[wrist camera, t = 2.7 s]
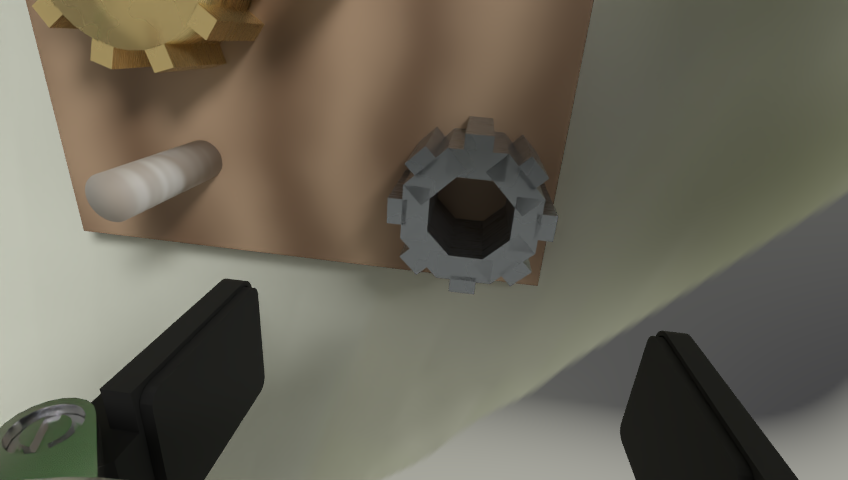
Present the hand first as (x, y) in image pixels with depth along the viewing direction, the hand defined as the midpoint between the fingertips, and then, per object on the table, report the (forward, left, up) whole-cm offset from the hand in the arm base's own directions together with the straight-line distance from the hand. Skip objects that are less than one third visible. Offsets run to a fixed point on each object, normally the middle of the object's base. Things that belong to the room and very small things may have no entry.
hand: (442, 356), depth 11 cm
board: (+9, -5, -15) cm, 18 cm away
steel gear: (0, 0, -13) cm, 13 cm away
